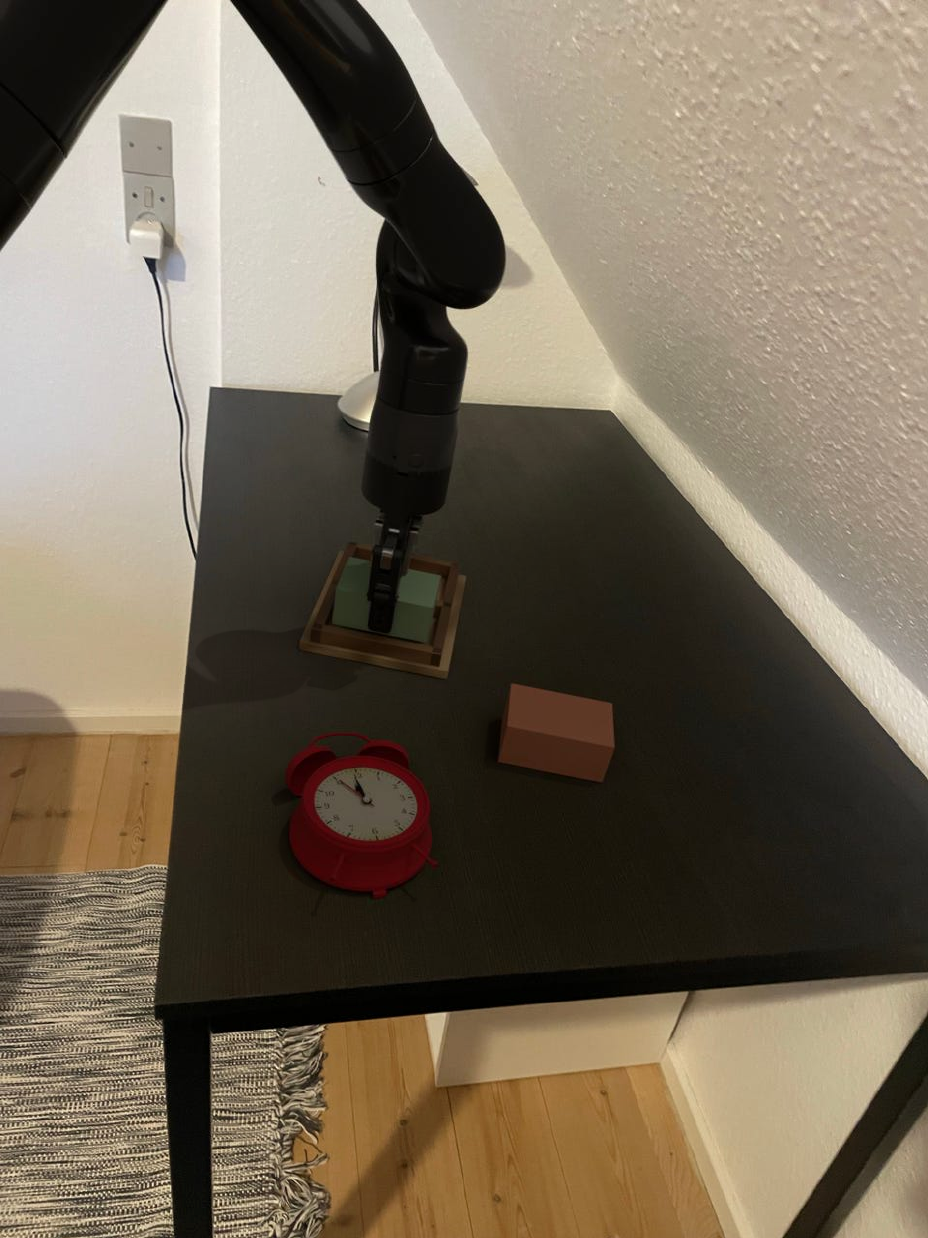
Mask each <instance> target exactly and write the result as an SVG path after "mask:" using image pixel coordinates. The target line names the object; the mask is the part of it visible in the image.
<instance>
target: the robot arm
mask: <svg viewBox="0 0 928 1238" xmlns="http://www.w3.org/2000/svg"><path fill="white" fill-rule="evenodd" d="M168 2H170V0H0V253H1V252H2V251H3V249H4V248H5V246H6V245H7V244H8V242H9V241H10V239H11V238H12V237H13V235H14V234H15V233H16V232H17V230H18V229H19V228H20V226H21V225H22V224H23V223H24V221H25V220H26V218H27V217H28V216H29V215H30V213H31V211H32V210H33V209H34V207H35V206H36V205H37V203H38V201H39V200H40V198H41V197H42V195H43V194H44V192H45V190H47V188H48V187H49V185H50V184H51V182H52V181H53V179H54V178H55V176H56V175H57V173H58V172H59V171H60V169H61V168H62V166H63V165H64V164H65V163H64V162H65V160H67V159H68V157H69V155H70V154H71V152H72V150H73V149H74V147H75V146H76V144H77V142H78V141H79V139H80V138H81V136H82V134H83V132H84V131H85V129H86V127H87V126H88V124H89V122H90V121H91V119H92V118H93V116H94V115H95V113H96V112H97V110H98V109H99V107H100V106H101V104H102V103H103V101H104V99H106V97H107V95H108V94H109V92H110V91H111V89H112V88H113V87H114V85H115V84H116V82H117V81H118V80H119V78H120V76H121V75H122V74H123V72H124V70H125V69H126V68H127V66H128V65H129V63H130V61H131V60H132V58H133V57H134V56H135V54H136V52H137V51H138V49H139V48H140V46H141V45H142V43H143V41H145V39H146V37H147V36H148V33H149V32H150V30H151V29H152V27H153V25H155V22H156V21H157V19H158V18H159V16H160V14H161V13H162V11H163V10H164V9H165V7H166V5H167V3H168ZM229 2H231V4H232V6H233V7H234V8H235V9H236V11H237V12H238V13H239V15H240V17H242V19H243V20H244V22H245V23H246V25H247V26H248V27H249V28H250V30H251V31H252V33H253V34H254V35H255V37H256V39H257V40H258V41H259V43H260V44H261V45H262V46H263V48H264V49H265V51H266V52H267V54H268V55H269V57H270V58H271V60H272V61H273V62H274V64H275V65H276V67H277V69H278V70H279V72H280V73H281V74H282V76H283V77H284V79H285V80H286V82H287V83H288V85H289V86H290V88H291V90H292V91H293V93H294V94H295V96H296V97H297V99H298V101H299V102H300V104H301V105H302V107H303V108H304V110H305V112H306V113H307V115H308V116H309V118H310V120H311V122H312V123H313V126H314V127H315V129H316V130H317V132H318V134H319V135H320V137H321V139H322V141H323V143H324V144H325V146H326V149H327V150H328V151H329V153H330V155H331V156H332V158H333V160H334V162H335V163H336V165H337V167H338V168H339V170H340V172H341V173H342V175H343V176H344V179H345V180H346V182H347V183H348V185H349V186H350V188H351V190H352V191H353V192H354V194H355V195H356V196H357V197H358V198H359V200H360V201H361V202H362V203H363V204H365V205H366V206H367V207H368V208H369V209H371V210H372V211H373V212H375V213H377V214H378V215H379V216H381V217H382V218H383V221H382V224H381V227H380V228H379V232H378V235H377V236H378V237H377V241H376V248H375V279H376V280H375V281H376V289H377V290H376V291H377V302H378V313H379V320H380V328H381V334H382V351H381V357H380V363H379V371H378V378H377V387H376V394H375V400H374V403H373V407H372V410H371V413H370V417H369V425H368V431H367V438H366V439H367V441H366V446H365V456H364V463H363V471H362V477H361V485H360V489H361V493H362V496H363V497H364V498H365V500H366V501H367V502H368V503H369V504H371V506H374V507H376V508H378V509H379V512H378V518H376V519H375V520H374V525H373V531H372V537H373V539H374V541H373V545H372V546H373V548H372V556H371V561H370V569H371V572H370V580H369V588H368V591H367V595H366V597H367V601H371V605H370V612H369V619H368V629H369V630H371V631H376V632H381V633H389V632H390V631H391V628H392V624H393V618H394V611H395V605H396V603H397V599H398V598H399V595H400V593H399V588H400V583H401V578H402V577H404V576H406V575H407V573H408V571H409V566H410V561H411V556H412V554H413V551H415V550H416V548H417V543H418V539H419V534H420V533H421V529H422V526H423V521H424V516H427V515H431V514H434V513H437V512H438V511H440V510H441V509H442V508H443V506H444V505H445V503H446V501H447V494H448V489H449V483H450V478H451V474H452V473H451V472H452V466H453V462H454V458H455V457H454V456H455V452H456V446H457V445H456V444H457V441H458V436H459V435H458V434H459V418H460V417H459V416H460V406H461V401H462V397H463V391H464V386H465V380H466V373H467V369H468V363H469V362H468V361H469V348H468V344H467V342H466V340H465V338H464V337H463V336H462V335H461V333H460V332H458V330H457V329H456V328H455V327H454V326H453V324H452V322H451V320H450V319H449V314H448V309H447V308H449V309H454V310H462V311H463V310H471V309H476V308H478V307H481V306H483V305H484V304H486V303H487V302H489V301H490V300H491V299H492V298H493V297H494V296H495V294H496V293H497V292H498V290H499V289H500V287H501V285H502V282H503V279H504V277H505V273H506V268H507V248H506V243H505V242H506V241H505V238H504V235H503V231H502V230H501V226H500V224H499V222H498V220H497V217H496V216H495V214H494V213H493V211H492V209H491V207H490V206H489V205H488V203H487V202H486V199H484V197H483V196H482V194H481V193H480V192H479V190H478V189H477V188H476V186H475V185H474V183H473V182H472V181H471V179H470V178H469V177H468V175H467V174H466V172H465V171H464V169H463V168H462V167H461V166H460V165H459V163H458V162H457V161H456V160H455V158H453V156H452V155H451V154H450V152H449V151H448V150H447V148H446V147H445V146H444V144H443V143H442V141H441V139H440V137H439V134H438V132H437V129H436V126H435V125H434V122H433V121H432V118H431V116H430V114H429V112H428V110H427V107H426V105H425V103H424V102H423V99H422V97H421V95H420V93H419V91H418V88H417V87H416V84H415V82H414V80H413V77H412V76H411V73H410V72H409V70H408V68H407V66H406V65H405V63H404V61H403V59H402V57H401V55H400V54H399V53H398V51H397V49H396V48H395V46H394V45H393V43H392V42H391V40H390V39H389V37H388V36H387V35H386V33H385V32H384V31H383V30H382V28H381V27H380V26H379V24H378V23H377V21H376V20H375V19H374V18H373V17H372V15H370V13H369V12H368V10H367V9H366V8H365V7H364V6H363V5H362V4H361V2H360V1H358V0H229ZM378 583H379V584H384V585H388V586H384V585H379V584H378ZM389 586H390V587H389Z"/></svg>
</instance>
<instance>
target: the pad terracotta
mask: <svg viewBox="0 0 928 1238" xmlns="http://www.w3.org/2000/svg"><path fill="white" fill-rule="evenodd" d="M504 705H505V706H504V710H503V713H502V717H501V727H500V728H501V729H500V737H499V746H498V756H497V763H502V764H508V765H511V766H516V767H521V768H527V769H531V770H536V771H542V772H546V773H551V774H555V775H561V776H567V777H572V778H576V779H577V778H578V779H582V780H586V781H592V782H596V783H604V779H605V777H606V775H607V771H608V768H609V765H610V762H611V760H612V756H613V754H614V751H615V731H614V730H615V729H614V714H613V713H614V712H613V703H611V702H607V701H603V700H602V701H601V700H596V699H592V698H587V697H583V696H577V695H572V694H567V693H562V692H557V691H552V690H548V689H542V688H537V687H533V686H527V685H523V684H518V683H512V682H511V683H510V686H509V689H508V693H507V698H506V702H505V704H504Z"/></svg>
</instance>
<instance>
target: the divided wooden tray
mask: <svg viewBox="0 0 928 1238" xmlns="http://www.w3.org/2000/svg"><path fill="white" fill-rule="evenodd" d="M373 546H374V545H370V544H366V543H361V542H355V541H350V540H348V543H347V545H346V547H345V549H344V550H339V552H338V554H337V555H336V558H335V560H334V563H333V565H332V567H331V570H330V572H329V574H328V577H327V578H326V580H325V583H324V585H323V588H322V590H321V592H320V594H319V597H318V598H317V601H316V603H315V606H314V608H313V610H312V613H311V615H310V617H309V619H308V621H307V624H306V625H305V629H304V631H303V633H302V635H301V636H300V640H299V643H298V650H299V651H303V652H308V653H313V654H316V655H317V654H318V655H324V656H326V657H327V656H329V657H333V658H338V659H343V660H347V661H353V662H357V663H362V664H367V665H373V666H378V667H383V668H387V669H393V670H398V671H401V672H402V671H403V672H407V673H411V674H418V675H422V676H427V677H432V678H437V679H442V680H447V679H448V676H449V671H450V665H451V660H452V655H453V650H454V645H455V639H456V635H457V628H458V625H459V624H458V623H459V619H460V612H461V607H462V604H463V603H462V602H463V598H464V593H465V587H466V582H467V575H464V574H460V569H461V563H459V562H456V561H455V562H454V561H449V560H444V559H441V558H440V559H439V558H434V557H429V556H425V555H419V554H415V553H412V556H411V561H410V566H409V569H411V570H416V571H421V572H426V573H431V574H436V575H440V576H441V578H440V584H439V589H438V594H437V599H436V605H435V610H434V614H433V618H432V623H431V627H430V631H429V635H428V640H427V643H424V642H419V641H414V640H409V639H404V638H399V637H395V636H390V635H385V634H380V633H375V632H370V631H365V630H360V629H355V628H350V627H345V626H340V625H336V624H332V619H333V611H334V602H335V594H336V587H337V585H338V583H339V580H340V578H341V576H342V573H343V571H344V568H345V566H346V564H347V561H348V559H349V557H352V558H357V559H362V560H367V561H371V556H372V548H373Z"/></svg>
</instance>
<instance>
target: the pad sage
mask: <svg viewBox="0 0 928 1238" xmlns="http://www.w3.org/2000/svg"><path fill="white" fill-rule="evenodd" d="M370 572H371V569H370V561H367V560H362V559H357V558H352V557H349V559H348V561H347V564H346V566H345V568H344V571H343V573H342V576H341V578H340V580H339V583H338V585H337V587H336V594H335V602H334V611H333V619H332V624H336V625H340V626H345V627H350V628H355V629H360V630H365V631H370V632H375V633H380V634H385V635H390V636H395V637H399V638H404V639H409V640H414V641H419V642H424V643H427V640H428V635H429V631H430V627H431V623H432V618H433V614H434V610H435V605H436V599H437V594H438V589H439V584H440V578H441V576H440V575H436V574H431V573H426V572H421V571H416V570H411V569H409V571H408V573H407V575H406V576H404V577H402V578H401V583H400V588H399V593H400V595H399V598H398V599H397V603H396V605H395V611H394V618H393V624H392V628H391V631H390V632H389V633H381V632H376V631H371V630H369V629H368V619H369V612H370V605H371V601H367V597H366V595H367V591H368V588H369V580H370ZM378 584H379V583H378ZM379 585H384V584H379ZM384 586H388V585H384ZM389 587H390V586H389Z"/></svg>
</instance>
